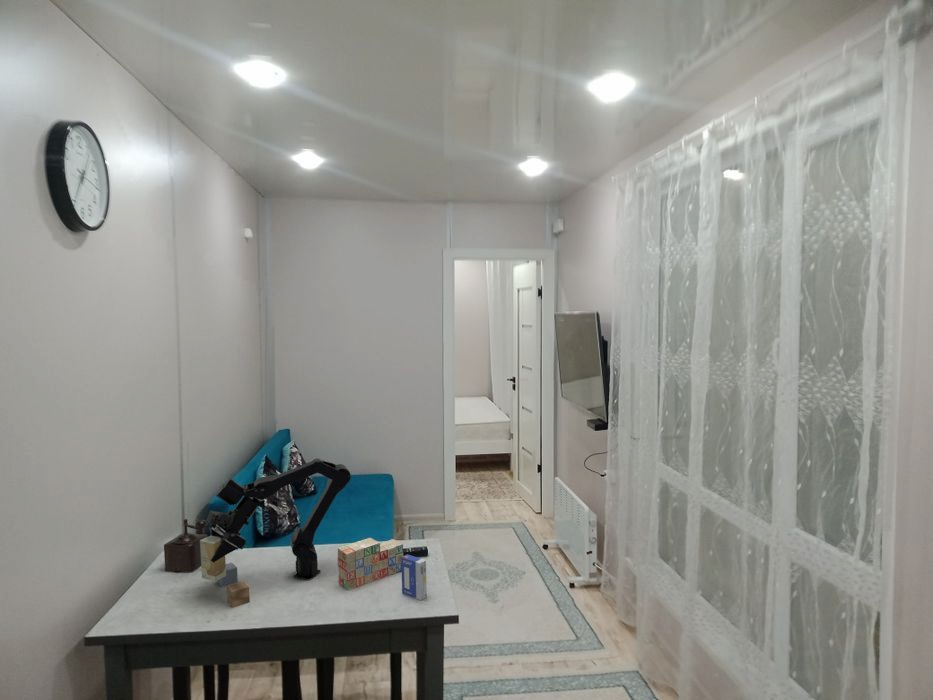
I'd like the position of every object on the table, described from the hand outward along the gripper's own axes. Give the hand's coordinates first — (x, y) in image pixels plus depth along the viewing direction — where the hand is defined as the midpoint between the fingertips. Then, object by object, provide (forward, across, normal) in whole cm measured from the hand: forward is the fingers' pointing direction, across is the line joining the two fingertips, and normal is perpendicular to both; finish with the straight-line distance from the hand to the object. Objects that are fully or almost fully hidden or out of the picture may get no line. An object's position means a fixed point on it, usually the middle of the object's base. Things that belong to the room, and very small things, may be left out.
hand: (208, 557), depth 175 cm
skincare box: (+4, 0, +6) cm, 7 cm away
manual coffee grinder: (+8, -28, +11) cm, 31 cm away
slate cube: (+4, -8, +14) cm, 17 cm away
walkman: (-24, +41, +44) cm, 65 cm away
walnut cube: (+6, +8, +13) cm, 16 cm away
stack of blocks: (-21, +22, +42) cm, 52 cm away
